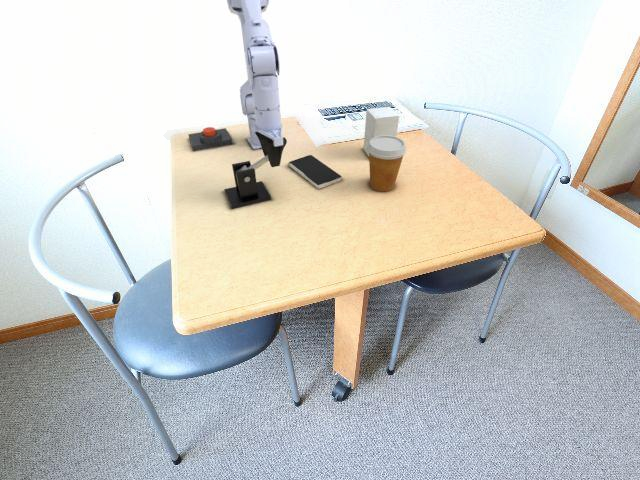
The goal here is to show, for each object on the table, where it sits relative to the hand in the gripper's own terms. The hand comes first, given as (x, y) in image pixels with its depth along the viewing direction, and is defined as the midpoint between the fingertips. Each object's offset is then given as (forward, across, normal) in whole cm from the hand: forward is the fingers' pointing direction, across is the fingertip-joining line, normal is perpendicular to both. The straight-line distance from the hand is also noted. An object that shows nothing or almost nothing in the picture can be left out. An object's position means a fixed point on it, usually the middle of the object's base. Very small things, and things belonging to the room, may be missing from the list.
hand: (272, 161), depth 90 cm
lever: (+1, 0, -4) cm, 4 cm away
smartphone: (+8, -4, +13) cm, 16 cm away
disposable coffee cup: (+8, +9, +27) cm, 30 cm away
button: (+5, -33, -10) cm, 35 cm away
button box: (+8, -35, -10) cm, 37 cm away
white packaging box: (+8, -7, +35) cm, 37 cm away
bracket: (+8, 0, -7) cm, 11 cm away
